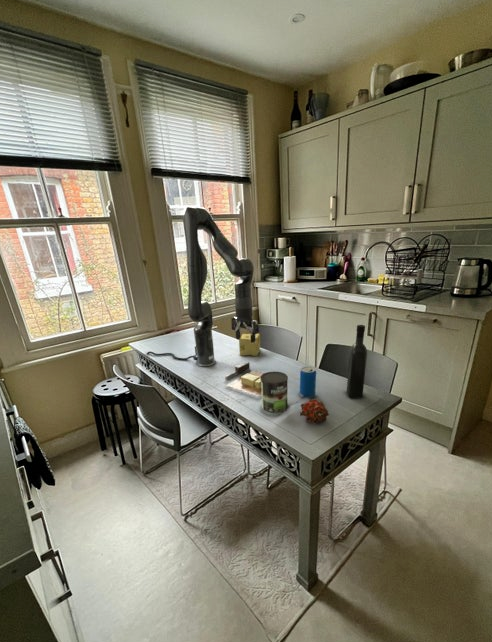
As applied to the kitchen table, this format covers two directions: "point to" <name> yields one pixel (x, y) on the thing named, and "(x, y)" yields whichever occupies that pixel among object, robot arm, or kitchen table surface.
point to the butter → (249, 379)
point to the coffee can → (274, 392)
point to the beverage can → (307, 382)
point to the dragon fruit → (314, 411)
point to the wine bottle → (357, 365)
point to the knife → (239, 369)
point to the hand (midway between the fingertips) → (245, 340)
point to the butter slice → (258, 383)
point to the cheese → (249, 345)
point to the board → (247, 388)
